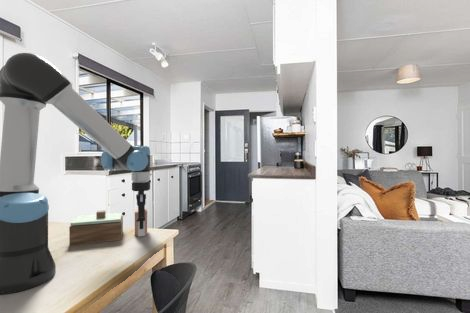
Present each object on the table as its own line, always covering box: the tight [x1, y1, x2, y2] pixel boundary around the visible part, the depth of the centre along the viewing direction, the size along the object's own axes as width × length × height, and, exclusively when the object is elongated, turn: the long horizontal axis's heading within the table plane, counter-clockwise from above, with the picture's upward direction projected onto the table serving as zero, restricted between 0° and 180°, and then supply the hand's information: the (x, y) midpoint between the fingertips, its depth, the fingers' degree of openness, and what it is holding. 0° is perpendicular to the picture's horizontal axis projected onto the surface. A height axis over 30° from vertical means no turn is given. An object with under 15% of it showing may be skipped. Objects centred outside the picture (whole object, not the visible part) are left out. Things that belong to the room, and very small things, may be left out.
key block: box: [134, 208, 148, 237], centre depth 111 cm, size 5×5×10 cm
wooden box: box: [68, 214, 124, 246], centre depth 105 cm, size 12×18×7 cm, turn 111°
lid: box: [70, 209, 123, 226], centre depth 105 cm, size 11×17×4 cm, turn 111°
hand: (141, 232), depth 111 cm, fingers open, 9 cm apart
